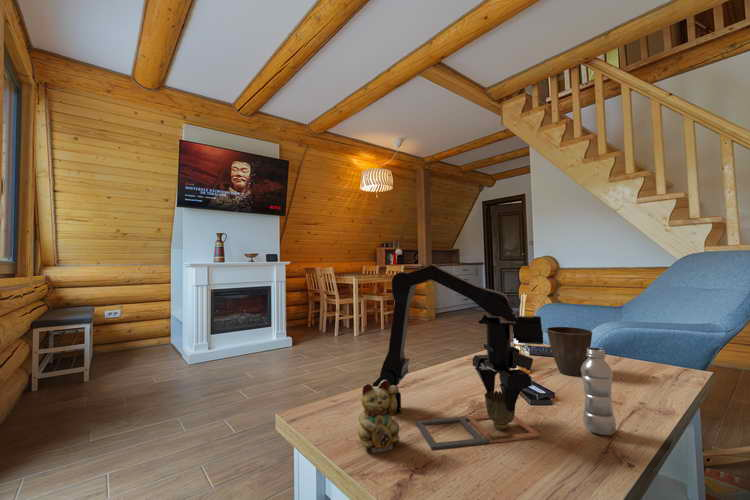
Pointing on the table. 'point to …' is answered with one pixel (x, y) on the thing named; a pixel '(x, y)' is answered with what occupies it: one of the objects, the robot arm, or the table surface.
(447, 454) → the table surface
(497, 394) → the dark ridged bell shape
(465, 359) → the table surface
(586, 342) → the plant pot
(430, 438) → the rectangular frame
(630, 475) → the table surface
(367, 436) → the decorative figurine
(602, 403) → the plastic bottle
